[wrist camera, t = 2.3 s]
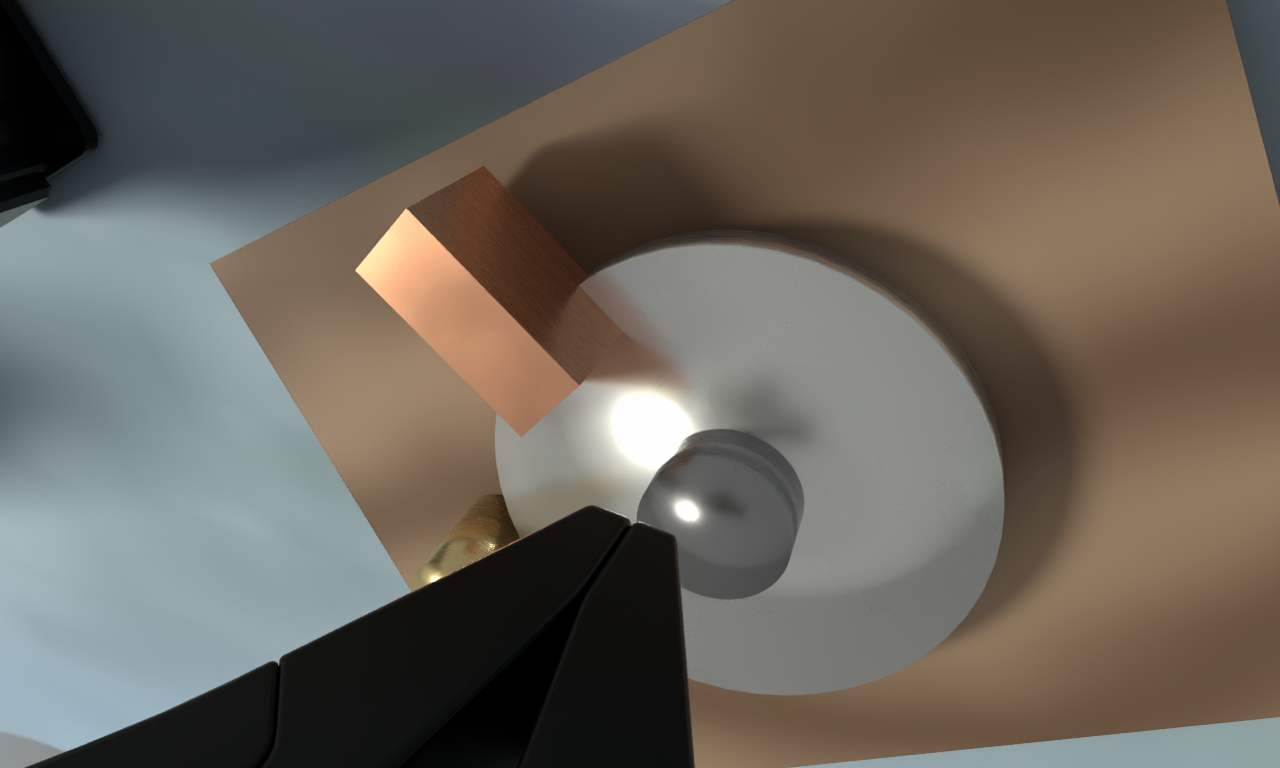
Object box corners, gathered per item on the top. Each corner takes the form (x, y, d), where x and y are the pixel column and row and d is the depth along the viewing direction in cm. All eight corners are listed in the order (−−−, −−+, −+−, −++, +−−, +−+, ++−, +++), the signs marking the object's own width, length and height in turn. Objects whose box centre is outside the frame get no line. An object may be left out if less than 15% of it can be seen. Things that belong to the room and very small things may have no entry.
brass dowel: (458, 503, 25) (399, 571, 23) (513, 487, 25) (457, 556, 22) (491, 558, 26) (435, 631, 23) (545, 545, 25) (494, 619, 23)
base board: (235, 251, 25) (209, 263, 24) (1158, -213, 15) (1169, -219, 15) (548, 768, 30) (536, 793, 30) (1392, 669, 21) (1409, 703, 20)
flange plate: (1121, 521, 20) (1145, 642, 16) (735, 722, 25) (698, 841, 22) (640, -8, 18) (565, 14, 15) (345, 334, 24) (246, 403, 21)
